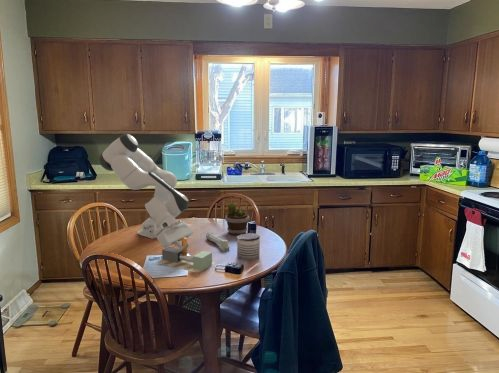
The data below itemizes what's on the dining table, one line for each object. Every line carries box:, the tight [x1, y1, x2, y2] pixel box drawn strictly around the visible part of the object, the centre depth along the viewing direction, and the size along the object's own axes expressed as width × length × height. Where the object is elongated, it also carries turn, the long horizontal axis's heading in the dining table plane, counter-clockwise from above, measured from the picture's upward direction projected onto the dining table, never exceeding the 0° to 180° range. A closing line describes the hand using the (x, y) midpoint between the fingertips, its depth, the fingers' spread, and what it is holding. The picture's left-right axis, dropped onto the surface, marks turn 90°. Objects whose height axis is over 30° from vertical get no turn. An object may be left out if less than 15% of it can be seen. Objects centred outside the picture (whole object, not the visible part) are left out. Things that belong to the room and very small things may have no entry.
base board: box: [155, 259, 216, 274], centre depth 182 cm, size 25×14×1 cm, turn 63°
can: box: [236, 232, 261, 261], centre depth 190 cm, size 11×11×12 cm
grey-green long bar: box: [205, 232, 231, 252], centre depth 208 cm, size 5×7×25 cm
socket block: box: [192, 250, 213, 272], centre depth 176 cm, size 5×8×6 cm, turn 153°
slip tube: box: [178, 237, 194, 262], centre depth 181 cm, size 16×3×11 cm, turn 63°
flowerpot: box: [224, 201, 250, 236], centre depth 229 cm, size 14×15×20 cm
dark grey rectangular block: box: [161, 246, 182, 263], centre depth 184 cm, size 9×5×5 cm, turn 63°
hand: (185, 247), depth 180 cm, fingers closed on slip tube, 2 cm apart
